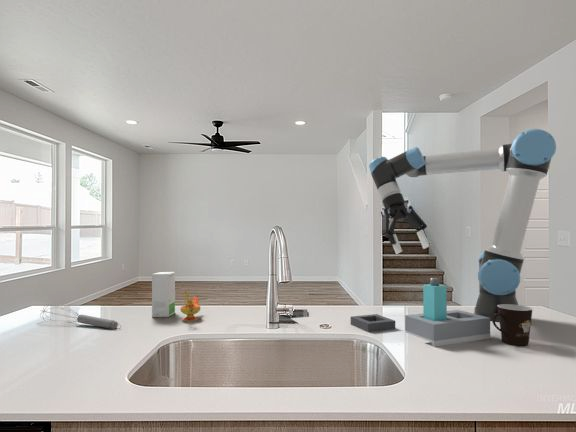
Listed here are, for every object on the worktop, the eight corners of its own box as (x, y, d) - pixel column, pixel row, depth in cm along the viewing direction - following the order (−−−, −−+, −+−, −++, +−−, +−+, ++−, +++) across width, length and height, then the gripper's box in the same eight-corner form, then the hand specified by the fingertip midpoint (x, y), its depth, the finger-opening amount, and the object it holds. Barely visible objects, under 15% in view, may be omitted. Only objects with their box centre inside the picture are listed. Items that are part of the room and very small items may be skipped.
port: (458, 328, 126) (458, 309, 126) (490, 338, 115) (490, 317, 115) (405, 335, 118) (405, 315, 118) (433, 346, 107) (433, 324, 107)
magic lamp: (206, 312, 148) (207, 283, 149) (194, 324, 130) (195, 291, 131) (188, 312, 149) (189, 283, 149) (174, 324, 131) (174, 291, 131)
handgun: (272, 313, 151) (268, 324, 133) (272, 307, 151) (268, 318, 133) (307, 313, 150) (307, 325, 132) (307, 308, 150) (307, 319, 132)
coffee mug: (523, 339, 114) (523, 304, 115) (539, 348, 106) (538, 310, 106) (481, 337, 115) (481, 303, 116) (494, 346, 107) (493, 309, 107)
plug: (435, 330, 118) (435, 277, 118) (446, 334, 113) (446, 279, 114) (423, 332, 116) (423, 277, 116) (434, 336, 112) (434, 279, 112)
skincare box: (168, 317, 140) (169, 274, 141) (150, 317, 140) (150, 274, 141) (175, 312, 149) (175, 271, 149) (158, 312, 149) (158, 271, 149)
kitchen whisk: (113, 332, 122) (113, 311, 122) (34, 323, 133) (35, 305, 133) (127, 327, 127) (128, 308, 128) (51, 319, 139) (51, 301, 139)
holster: (376, 324, 131) (376, 314, 131) (395, 332, 121) (395, 320, 122) (350, 327, 127) (350, 316, 127) (367, 335, 118) (367, 323, 118)
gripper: (408, 198, 154) (430, 249, 147) (359, 203, 142) (380, 258, 135) (422, 189, 148) (444, 241, 141) (371, 194, 136) (393, 251, 129)
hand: (413, 250), depth 138 cm, fingers open, 13 cm apart
